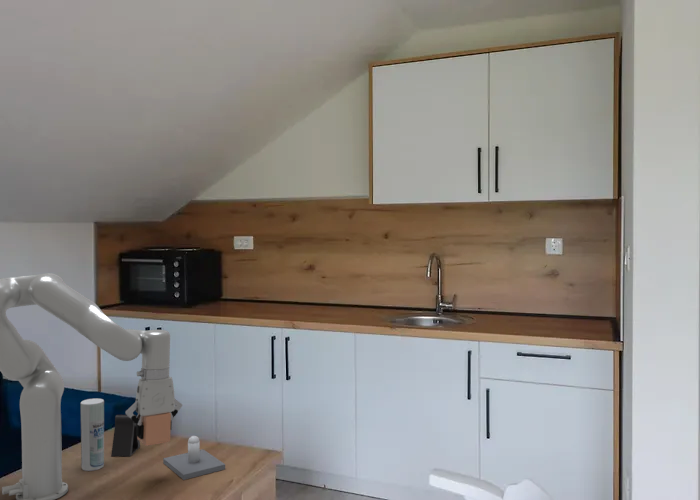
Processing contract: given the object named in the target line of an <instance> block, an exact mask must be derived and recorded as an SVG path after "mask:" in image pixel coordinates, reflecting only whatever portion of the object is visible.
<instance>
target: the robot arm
mask: <svg viewBox="0 0 700 500" xmlns="http://www.w3.org/2000/svg"><path fill="white" fill-rule="evenodd" d="M36 305H37V306H38V307H39V308H41V309H43V310H44V311H46V312H47V313H50V314H51V315H52V316H54V317H56V318H57V319H59V320H60V321H62V322H64V323H65V324H66V325H69V326H70V327H71V328H73V329H74V330H76V332H77V333H79V334H80V335H82V336H83V337H85V338H86V339H87V340H89V341H90V342H91V343H93V344H94V345H95V346H96V347H98V348H100V349H101V350H103V351H104V352H106V353H107V354H109V355H111V356H112V357H114V358H116V359H118V361H119V360H120V361H123V362H130V361H133V360H135V359H137V358H138V357H139V356H140V354H141V368H140V370H139V371H136V377H140V378H139V380H138V382H137V389H136V395H135V402H134V403H133V404H132V405H131V406H130V407H128V409H126V410H125V413H124V414H125V415H128V416H129V417H130V419H132V420H133V421H134V422H135V423H136V435H137V436H138V437H139V438H140V439H143V434H144V425H142V423H143V421H144V417H145V416H152V415H159V414H165V413H171V430H172V428H173V427H172V423H173V420H174V417H176V416H177V414H178V413H179V411H180V410H181V409H182V407H183V404H182V403H181V402H180V401H179V400H177V399H176V398H175V389H174V387H175V386H174V380H173V377H172V376H170V361H171V360H170V355H171V352H170V351H171V335H170V334H171V333H170V332H169V331H168V330H165V329H151V330H143V329H133V328H131V329H130V328H126V329H125V328H123V327H122V326H120V325H118V323H116V322H114V321H113V320H112V319H111V318H110V317H108V316H107V315H106V314H105V313H104V311H102V310H101V308H100V307H99V306H98V305H97V304H96V303H95V302H94V301H93V300H91V299H89V298H88V297H86V296H85V295H83V294H82V293H80V292H78V291H77V290H76V289H74V288H72V287H71V286H69V284H66V283H65V281H64V279H63V278H62V277H61V276H60V275H58V274H56V273H51V272H48V273H38V274H33V275H20V276H11V277H2V278H0V372H1V374H2V376H3V377H5V378H6V379H8V380H11V381H18V382H19V384H20V385H21V386H22V387H23V389H22V390H21V393H20V396H19V397H20V399H19V411H20V423H21V424H20V425H21V428H20V429H21V462H22V463H21V469H22V470H21V472H22V473H21V478H19V481H18V482H16V483H15V484H13V485H6V486H2V487H1V492H2V494H1V495H3V496H4V495H7V494H8V496H9V497H10V496H15V499H16V500H57V499H59V498H61V497H63V496H65V495H66V494H67V493H68V491H69V485H68V483H67V482H65V481H63V475H62V474H63V472H62V471H63V469H62V468H63V465H62V463H63V462H62V461H63V460H62V458H63V457H62V454H63V453H62V447H63V446H62V441H63V440H62V413H61V412H62V410H61V402H62V396H63V394H64V391H65V382H64V379H63V377H62V375H61V373H60V372H59V371H58V369H57V368H56V367H55V365H54V364H53V362H52V361H51V360H50V358H49V357H48V356H47V354H46V352H45V351H44V350H43V348H41V346H40V345H39V344H38V343H37V342H34V341H32V340H30V339H23V337H22V335H21V334H20V332H19V331H18V330H17V328H16V327H15V325H14V324H13V323H12V322H11V321H10V320H9V318H8V316H7V314H6V312H7V310H9V309H11V308H19V307H27V306H36ZM134 412H136V413H137V415H136V416H137V417H135V416H134V415H135V414H134Z"/></svg>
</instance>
